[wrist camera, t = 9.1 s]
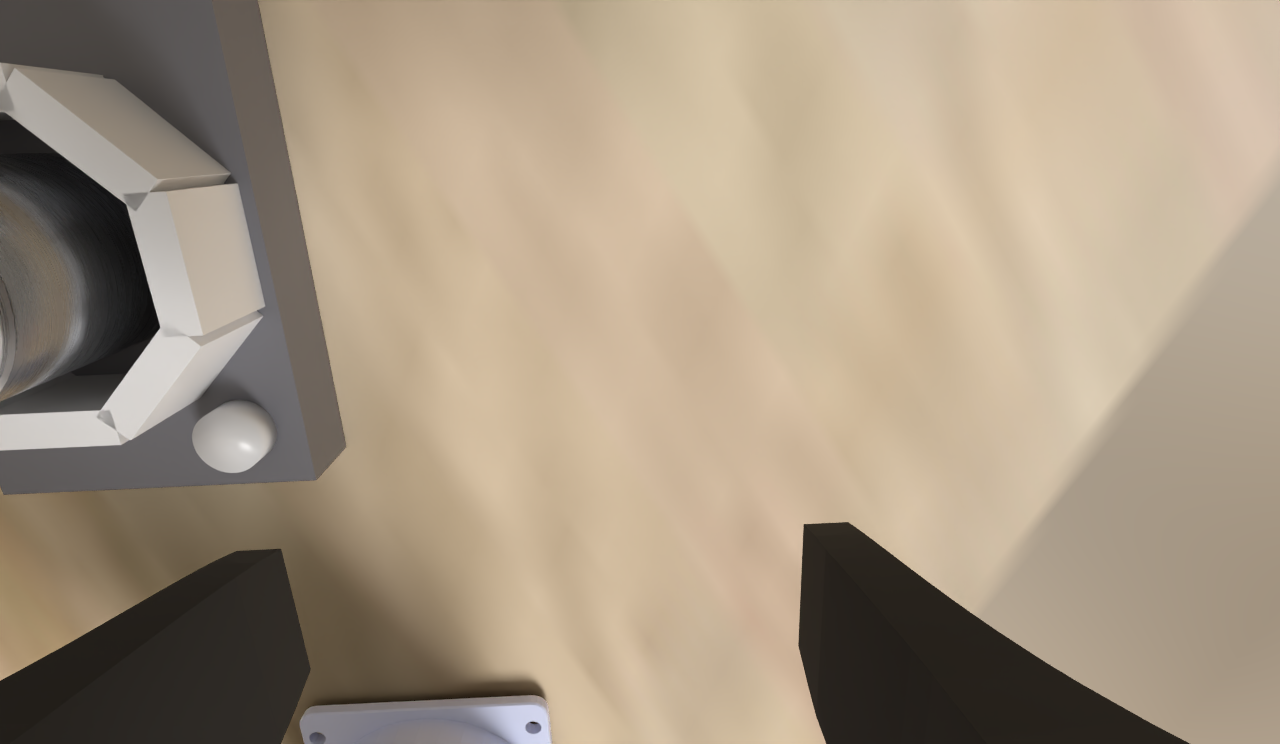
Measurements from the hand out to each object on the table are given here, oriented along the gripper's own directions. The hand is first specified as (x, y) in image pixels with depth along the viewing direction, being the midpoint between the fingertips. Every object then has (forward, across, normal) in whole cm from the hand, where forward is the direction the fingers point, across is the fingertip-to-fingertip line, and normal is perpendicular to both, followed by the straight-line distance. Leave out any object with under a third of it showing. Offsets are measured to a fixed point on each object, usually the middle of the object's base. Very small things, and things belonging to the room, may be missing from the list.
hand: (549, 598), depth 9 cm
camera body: (+10, +11, -4) cm, 15 cm away
